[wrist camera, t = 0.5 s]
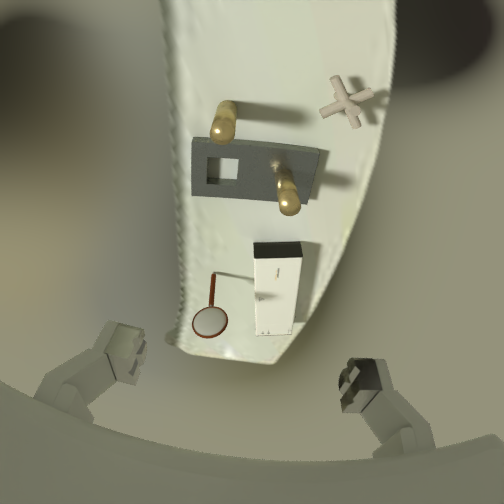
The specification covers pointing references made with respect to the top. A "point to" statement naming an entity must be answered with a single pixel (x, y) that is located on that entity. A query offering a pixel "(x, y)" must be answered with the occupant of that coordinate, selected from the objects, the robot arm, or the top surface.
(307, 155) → the bolt plate
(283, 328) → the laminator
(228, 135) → the brass pin
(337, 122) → the top surface
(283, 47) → the top surface
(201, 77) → the top surface
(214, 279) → the magnifying glass
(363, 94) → the pipe connector
